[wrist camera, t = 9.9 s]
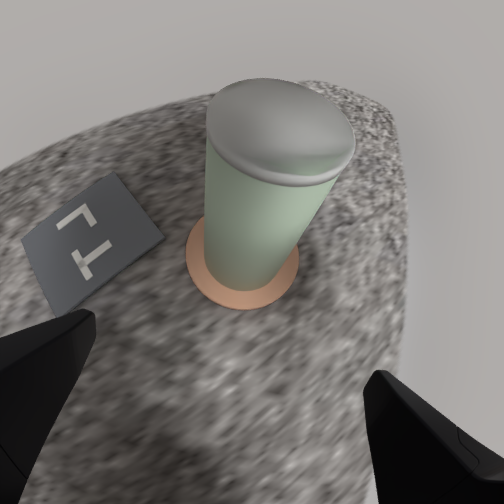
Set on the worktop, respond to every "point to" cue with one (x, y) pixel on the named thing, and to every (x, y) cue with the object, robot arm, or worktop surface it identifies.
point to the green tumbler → (267, 174)
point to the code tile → (89, 242)
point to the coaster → (227, 295)
